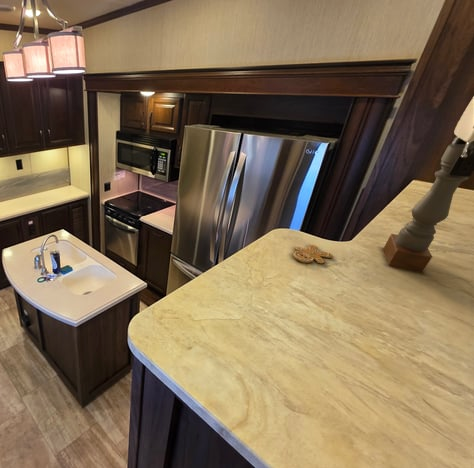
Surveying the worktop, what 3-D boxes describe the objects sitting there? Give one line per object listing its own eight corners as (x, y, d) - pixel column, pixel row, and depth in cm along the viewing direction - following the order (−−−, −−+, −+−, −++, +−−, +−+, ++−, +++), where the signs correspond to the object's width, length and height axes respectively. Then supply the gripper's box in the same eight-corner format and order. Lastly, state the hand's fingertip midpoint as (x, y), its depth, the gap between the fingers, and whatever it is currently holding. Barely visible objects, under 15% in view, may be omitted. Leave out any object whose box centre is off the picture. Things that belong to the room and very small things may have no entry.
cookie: (338, 256, 78) (312, 265, 75) (336, 259, 79) (310, 268, 76) (309, 241, 85) (284, 249, 82) (308, 244, 86) (283, 252, 83)
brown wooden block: (413, 254, 79) (423, 239, 76) (422, 272, 73) (432, 256, 70) (383, 248, 82) (391, 233, 80) (388, 265, 76) (397, 249, 73)
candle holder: (423, 241, 76) (482, 145, 63) (430, 253, 71) (495, 152, 58) (392, 236, 78) (442, 142, 66) (397, 247, 74) (452, 149, 61)
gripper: (565, 83, 47) (494, 186, 57) (515, 76, 60) (464, 162, 69) (497, 84, 51) (441, 181, 60) (463, 77, 63) (421, 158, 73)
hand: (454, 170), depth 65 cm, fingers closed on candle holder, 5 cm apart
